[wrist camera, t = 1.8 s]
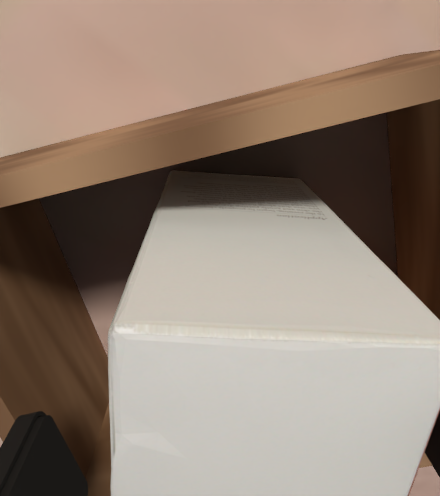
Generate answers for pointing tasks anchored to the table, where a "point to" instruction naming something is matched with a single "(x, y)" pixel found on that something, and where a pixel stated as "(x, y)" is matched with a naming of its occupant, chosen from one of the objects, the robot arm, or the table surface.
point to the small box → (266, 351)
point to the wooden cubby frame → (170, 153)
